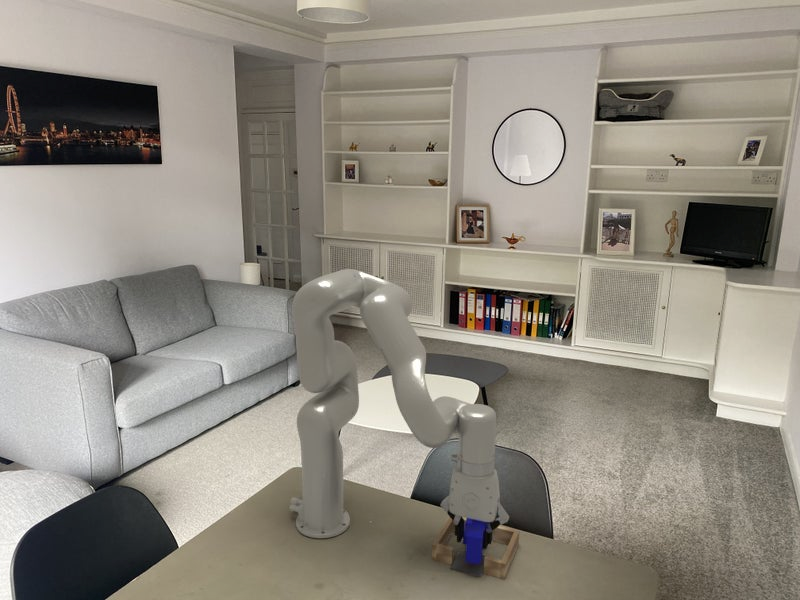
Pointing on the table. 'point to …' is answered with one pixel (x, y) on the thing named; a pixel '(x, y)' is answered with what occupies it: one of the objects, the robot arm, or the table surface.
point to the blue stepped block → (473, 540)
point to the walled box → (487, 563)
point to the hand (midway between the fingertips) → (473, 541)
